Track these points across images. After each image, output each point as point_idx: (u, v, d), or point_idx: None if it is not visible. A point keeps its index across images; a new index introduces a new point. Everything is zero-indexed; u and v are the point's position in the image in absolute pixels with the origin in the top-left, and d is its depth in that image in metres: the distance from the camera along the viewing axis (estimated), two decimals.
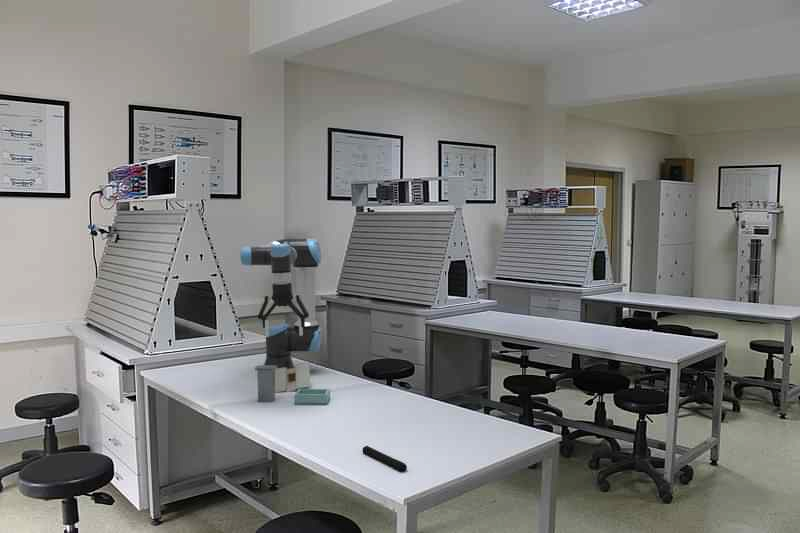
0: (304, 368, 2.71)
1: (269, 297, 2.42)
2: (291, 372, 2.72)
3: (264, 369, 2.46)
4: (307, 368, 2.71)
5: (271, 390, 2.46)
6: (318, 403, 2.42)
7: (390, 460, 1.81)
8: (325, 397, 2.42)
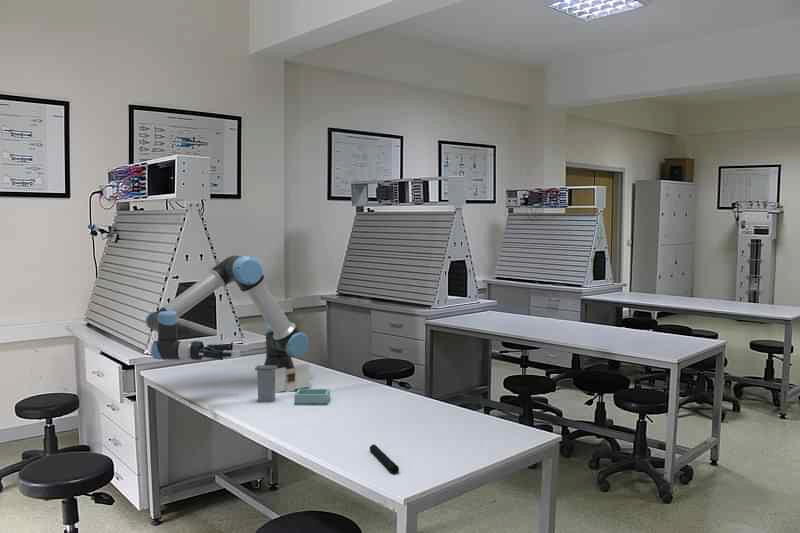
0: (304, 369, 2.71)
1: None
2: (290, 372, 2.72)
3: (264, 369, 2.46)
4: (306, 368, 2.71)
5: (271, 390, 2.46)
6: (318, 403, 2.42)
7: (386, 461, 1.80)
8: (325, 397, 2.42)
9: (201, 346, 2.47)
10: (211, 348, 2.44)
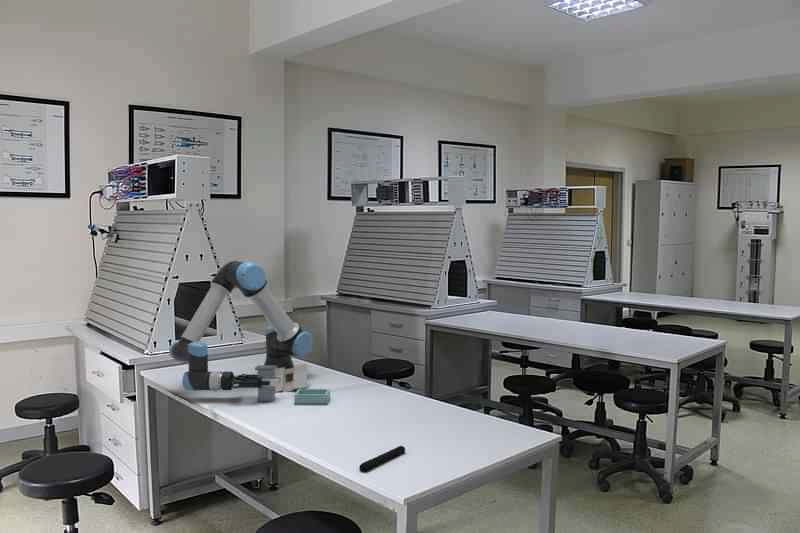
0: (302, 369, 2.70)
1: None
2: (289, 372, 2.71)
3: (264, 369, 2.45)
4: (305, 368, 2.70)
5: (271, 390, 2.46)
6: (318, 403, 2.42)
7: None
8: (325, 397, 2.42)
9: (231, 376, 2.48)
10: (244, 378, 2.46)
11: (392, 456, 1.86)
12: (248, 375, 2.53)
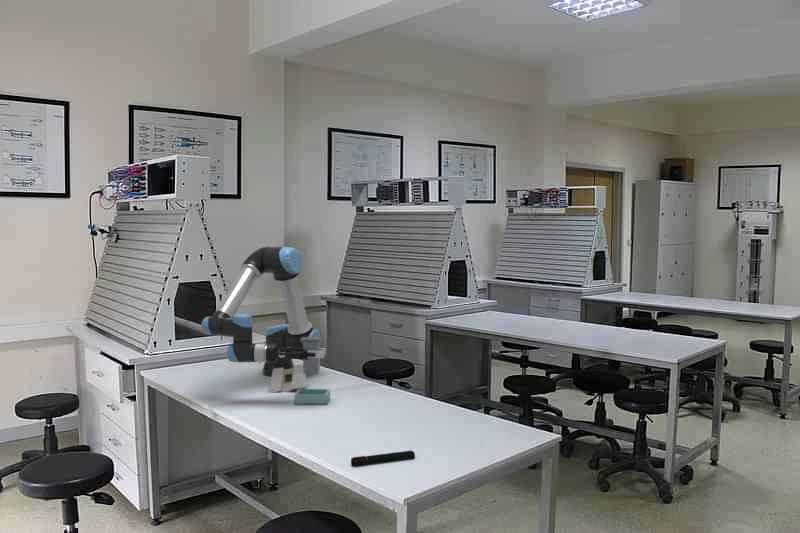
0: (301, 369, 2.70)
1: None
2: (288, 372, 2.71)
3: (310, 341, 2.43)
4: None
5: (317, 362, 2.43)
6: (318, 403, 2.42)
7: None
8: (325, 397, 2.42)
9: (276, 348, 2.45)
10: (290, 350, 2.43)
11: (393, 458, 1.84)
12: (292, 347, 2.50)
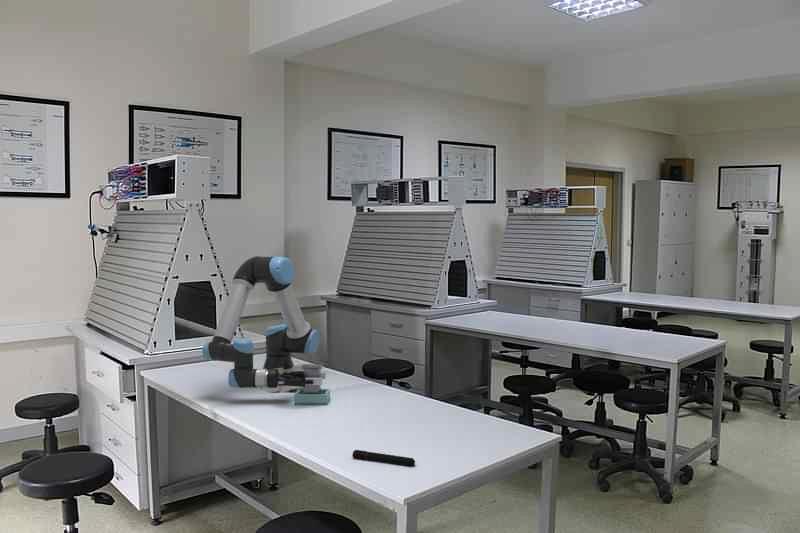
0: (300, 369, 2.70)
1: None
2: None
3: (310, 368, 2.44)
4: (303, 369, 2.70)
5: (317, 389, 2.44)
6: (318, 403, 2.42)
7: None
8: (325, 397, 2.42)
9: (277, 374, 2.46)
10: (289, 376, 2.43)
11: (390, 461, 1.82)
12: (292, 372, 2.52)
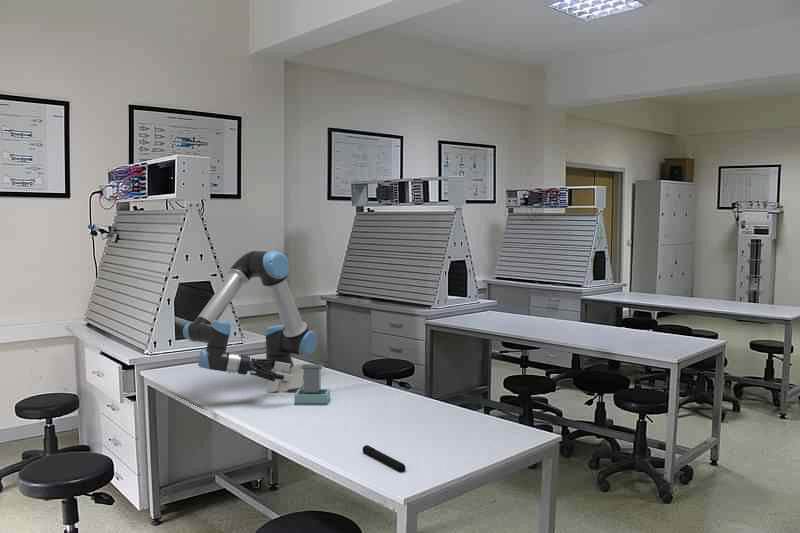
0: (299, 369, 2.69)
1: None
2: (286, 372, 2.71)
3: (310, 368, 2.44)
4: (302, 369, 2.69)
5: (317, 389, 2.44)
6: (318, 403, 2.42)
7: None
8: (325, 397, 2.42)
9: None
10: (262, 366, 2.44)
11: (385, 462, 1.82)
12: (259, 360, 2.53)
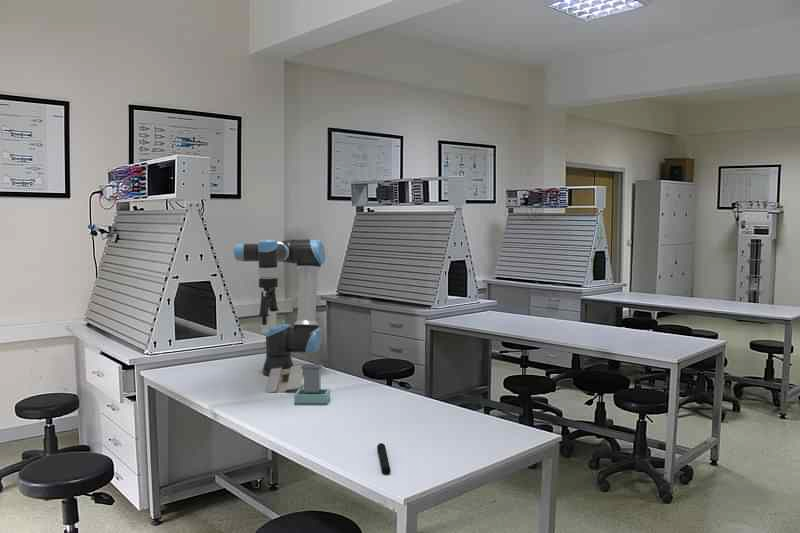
0: (298, 370, 2.69)
1: None
2: (286, 373, 2.71)
3: (310, 368, 2.44)
4: (301, 369, 2.69)
5: (317, 389, 2.44)
6: (318, 403, 2.42)
7: (384, 449, 1.89)
8: (325, 397, 2.42)
9: None
10: (270, 301, 2.44)
11: (380, 462, 1.82)
12: (274, 296, 2.54)
